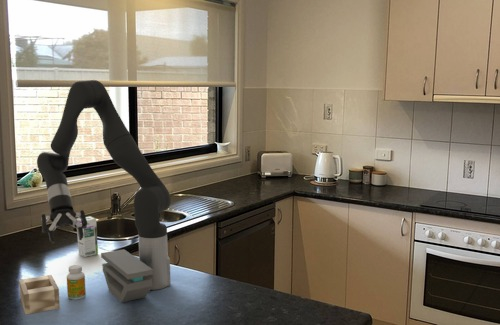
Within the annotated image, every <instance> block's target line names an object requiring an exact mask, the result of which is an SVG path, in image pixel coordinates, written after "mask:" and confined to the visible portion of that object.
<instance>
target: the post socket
mask: <svg viewBox="0 0 500 325" xmlns="http://www.w3.org/2000/svg"><path fill="white" fill-rule="evenodd" d="M18 280H19V281H18V283H19V297H20V301H21V302H20V303H21V305H22V309H23V312H24V315H29V314H35V313H40V312H46V311H52V310H57V309H60V308H61V304H60V289H59V287H58V285H57V284H58V283H56V280H55V278H54V277H53V275H52V274H48V275H47V274H46V275H43V276H37V277H36V276H35V277H29V278H28V277H27V278H23V279H18Z"/></svg>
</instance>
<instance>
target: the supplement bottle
mask: <svg viewBox="0 0 500 325" xmlns="http://www.w3.org/2000/svg"><path fill="white" fill-rule="evenodd" d="M85 275H86V274H85V273H84V272H83V266H82V265H80V264H73V265H69V266H68V273H67V275H66V290H67V298H68V299H70V300H80V299H83V298H85V296H86V295H87V294H86V276H85Z"/></svg>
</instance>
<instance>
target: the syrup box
mask: <svg viewBox="0 0 500 325" xmlns="http://www.w3.org/2000/svg"><path fill="white" fill-rule="evenodd" d="M85 217H86V220H87V227H86V228H85V229H83V234H84V235H83V238H82V240H79V236H78V230H77V229H76V233H77V249H78V254H79V255H80V256H82V257H84V258H86V257H90V256H95V255H98V254H99V248H98V247H99V246H98V245H99V244H98V228H97V227H98V226H97V218H96V217H94V216H91V215H89V216H85ZM76 219H77V220H78V222H79V223H80V224H82V222H81V219H79V218H76Z"/></svg>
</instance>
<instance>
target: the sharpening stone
mask: <svg viewBox="0 0 500 325" xmlns="http://www.w3.org/2000/svg"><path fill="white" fill-rule="evenodd" d="M100 257H101V259H102V260H103V261H105V262H106V263H105V262H104V263H102V271H103V276H104V278H105V281H106V285H107V288H108V291H109V292H110V293H111V295H113V296H114V297H115V298H116V299H117V300H118V301H119V302H120V303H125V302H129V301H134V300H138V299H144V298H146V297H147V296H148V294H149V292H150V291H151V290H150V289H151V287H152V279H151V278H150V277H148V275H153V269H152V268H150V267H149V266H147V265H146V264H144V263H143V262H142V261H140V260H139V258H138V257H136V256H134V255H133V254H131V253H130V252H129V251H127V250H126V249H124V248H123V249H116V250H111V251H107V252H106V251H104V252H100Z"/></svg>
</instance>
